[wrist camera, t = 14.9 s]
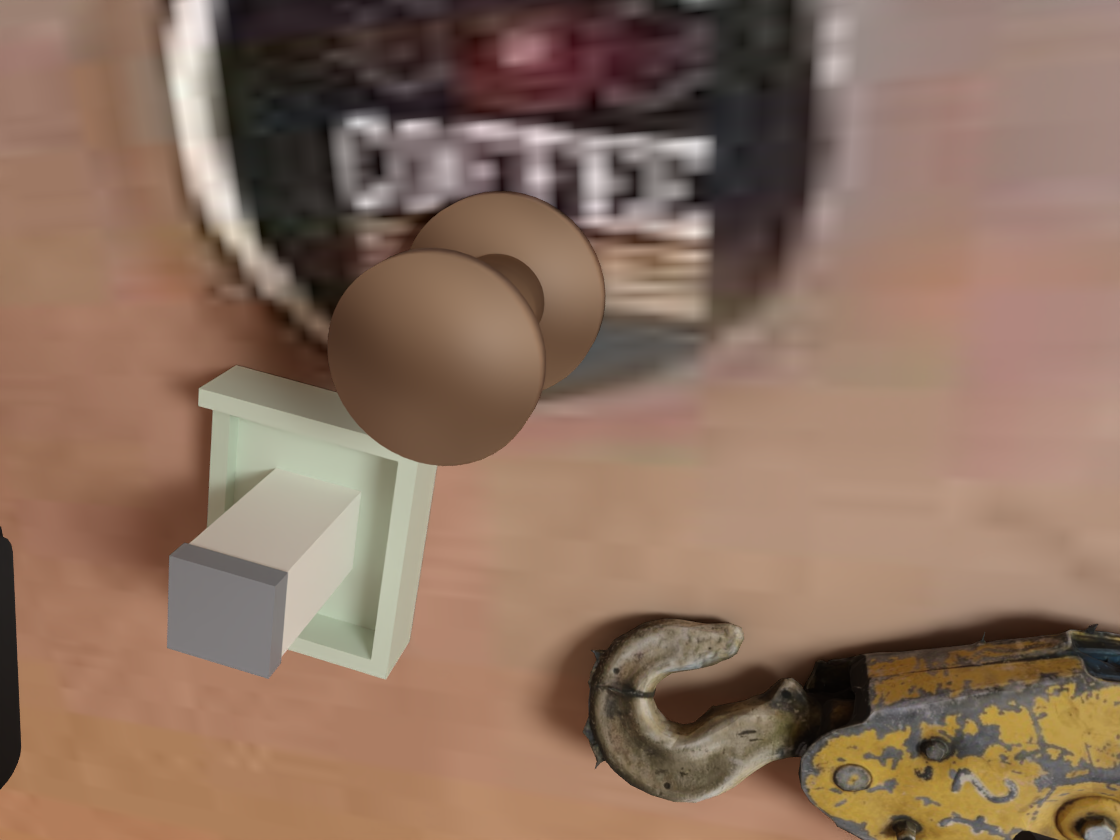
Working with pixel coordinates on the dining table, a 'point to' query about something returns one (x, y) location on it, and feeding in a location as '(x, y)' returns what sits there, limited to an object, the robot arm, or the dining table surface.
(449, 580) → the dining table surface
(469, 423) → the knob
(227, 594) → the white grey rectangular block
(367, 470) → the open tray
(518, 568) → the dining table surface
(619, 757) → the pulley block
